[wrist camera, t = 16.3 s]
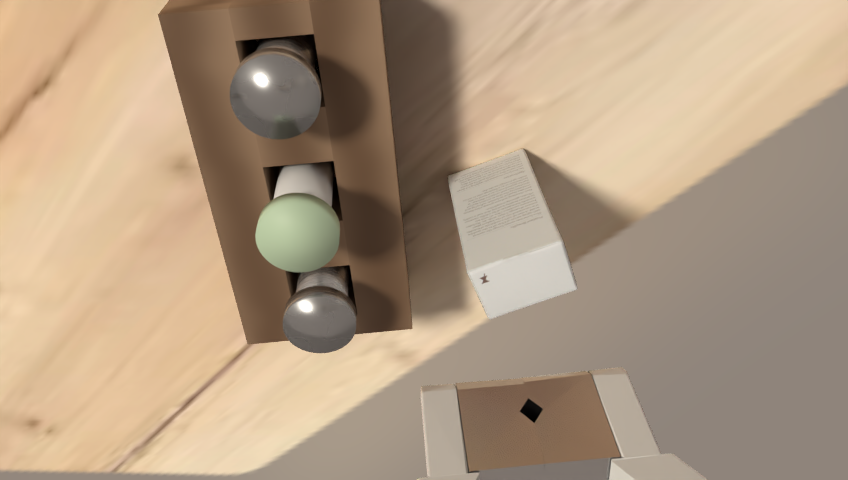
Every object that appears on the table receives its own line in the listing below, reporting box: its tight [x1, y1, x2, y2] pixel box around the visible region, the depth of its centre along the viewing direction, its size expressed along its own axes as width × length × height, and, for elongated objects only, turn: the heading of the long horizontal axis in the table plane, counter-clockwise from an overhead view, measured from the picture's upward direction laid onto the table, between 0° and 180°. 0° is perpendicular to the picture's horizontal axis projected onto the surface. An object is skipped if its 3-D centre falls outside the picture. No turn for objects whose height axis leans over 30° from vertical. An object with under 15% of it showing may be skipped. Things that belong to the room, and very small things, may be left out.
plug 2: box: [283, 265, 356, 353], centre depth 52 cm, size 5×5×9 cm
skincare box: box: [448, 149, 577, 319], centre depth 49 cm, size 6×4×12 cm
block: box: [158, 0, 412, 344], centre depth 49 cm, size 12×24×6 cm, turn 4°
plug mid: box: [255, 161, 340, 272], centre depth 46 cm, size 5×5×9 cm
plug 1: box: [230, 34, 322, 140], centre depth 43 cm, size 5×5×9 cm
